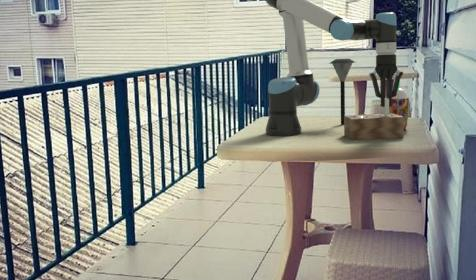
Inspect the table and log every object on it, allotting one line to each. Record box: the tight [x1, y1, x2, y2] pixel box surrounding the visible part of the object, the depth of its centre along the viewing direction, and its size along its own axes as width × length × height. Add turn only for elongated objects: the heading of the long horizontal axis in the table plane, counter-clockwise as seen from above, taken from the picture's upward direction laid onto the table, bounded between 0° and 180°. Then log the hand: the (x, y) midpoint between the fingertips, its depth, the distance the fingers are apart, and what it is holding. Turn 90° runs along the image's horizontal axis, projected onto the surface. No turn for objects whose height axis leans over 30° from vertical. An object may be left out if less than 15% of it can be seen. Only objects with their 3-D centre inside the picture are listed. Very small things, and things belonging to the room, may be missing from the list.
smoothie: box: [389, 81, 410, 131], centre depth 221 cm, size 8×8×20 cm
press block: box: [343, 113, 405, 141], centre depth 207 cm, size 20×12×8 cm, turn 93°
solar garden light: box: [328, 58, 356, 126], centre depth 242 cm, size 12×12×30 cm
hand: (385, 115), depth 207 cm, fingers closed
